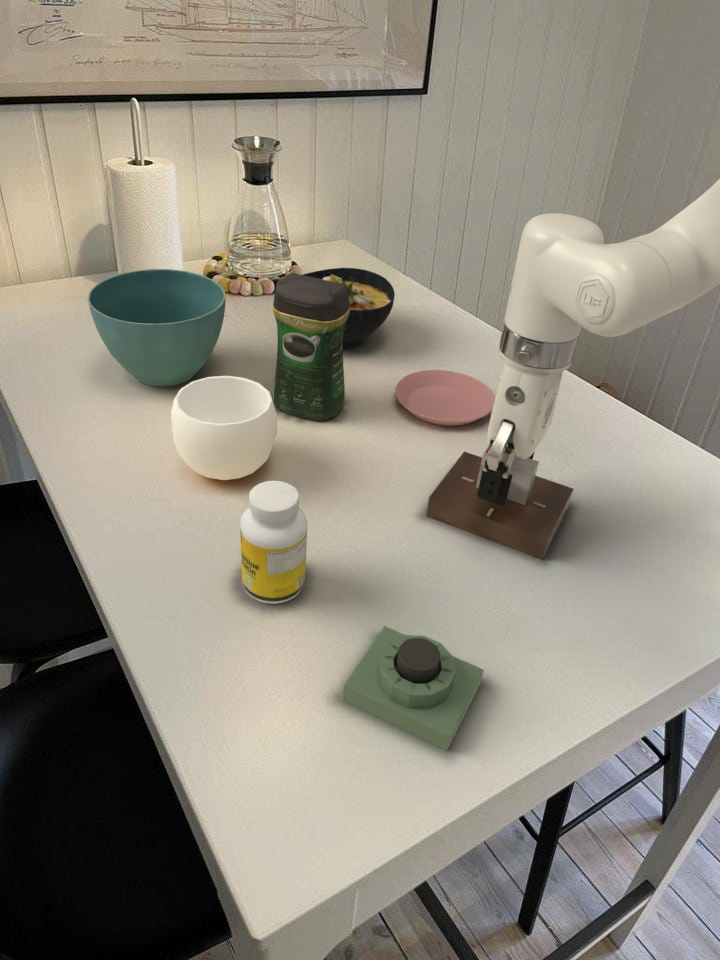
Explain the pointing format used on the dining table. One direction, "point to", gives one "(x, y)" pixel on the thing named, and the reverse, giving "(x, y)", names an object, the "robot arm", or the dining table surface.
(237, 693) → the dining table surface
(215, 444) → the cup
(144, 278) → the teal mixing bowl
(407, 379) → the plate
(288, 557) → the pill bottle
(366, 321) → the bowl
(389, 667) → the switch block
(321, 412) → the coffee jar
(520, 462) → the red-tipped white block
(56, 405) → the dining table surface
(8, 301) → the dining table surface
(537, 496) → the brown dial block
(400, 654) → the button
